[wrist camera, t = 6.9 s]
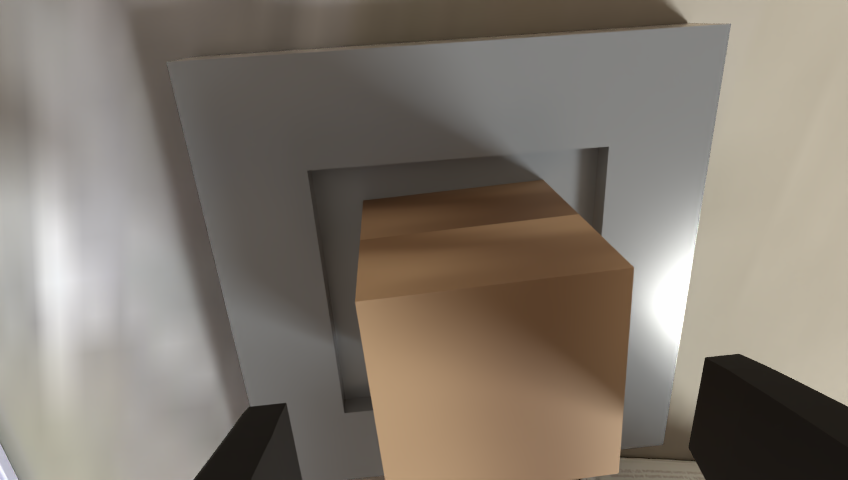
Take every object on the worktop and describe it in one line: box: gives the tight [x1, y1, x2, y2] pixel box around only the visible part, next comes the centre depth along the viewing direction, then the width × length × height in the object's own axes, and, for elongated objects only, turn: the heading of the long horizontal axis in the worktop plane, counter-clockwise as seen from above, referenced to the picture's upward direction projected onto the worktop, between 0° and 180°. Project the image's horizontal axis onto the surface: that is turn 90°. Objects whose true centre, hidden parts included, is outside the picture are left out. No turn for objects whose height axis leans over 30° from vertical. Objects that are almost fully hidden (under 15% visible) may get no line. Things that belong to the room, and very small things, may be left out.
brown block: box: [355, 180, 634, 480], centre depth 11 cm, size 4×4×5 cm
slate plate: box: [166, 23, 731, 480], centre depth 14 cm, size 12×12×2 cm
